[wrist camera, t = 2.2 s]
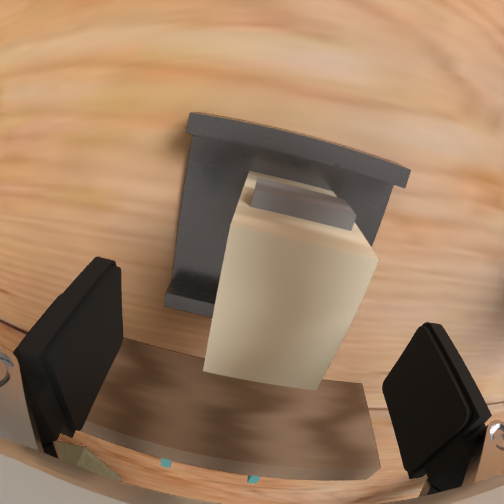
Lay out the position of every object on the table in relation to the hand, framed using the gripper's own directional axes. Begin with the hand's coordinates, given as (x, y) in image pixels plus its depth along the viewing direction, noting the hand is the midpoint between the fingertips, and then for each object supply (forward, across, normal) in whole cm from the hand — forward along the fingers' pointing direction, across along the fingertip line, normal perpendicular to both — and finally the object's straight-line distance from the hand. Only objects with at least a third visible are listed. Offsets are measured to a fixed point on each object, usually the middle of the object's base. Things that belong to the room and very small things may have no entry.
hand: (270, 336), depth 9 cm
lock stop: (+9, -1, 0) cm, 9 cm away
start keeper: (+9, -1, 0) cm, 9 cm away
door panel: (+9, -1, +12) cm, 16 cm away
